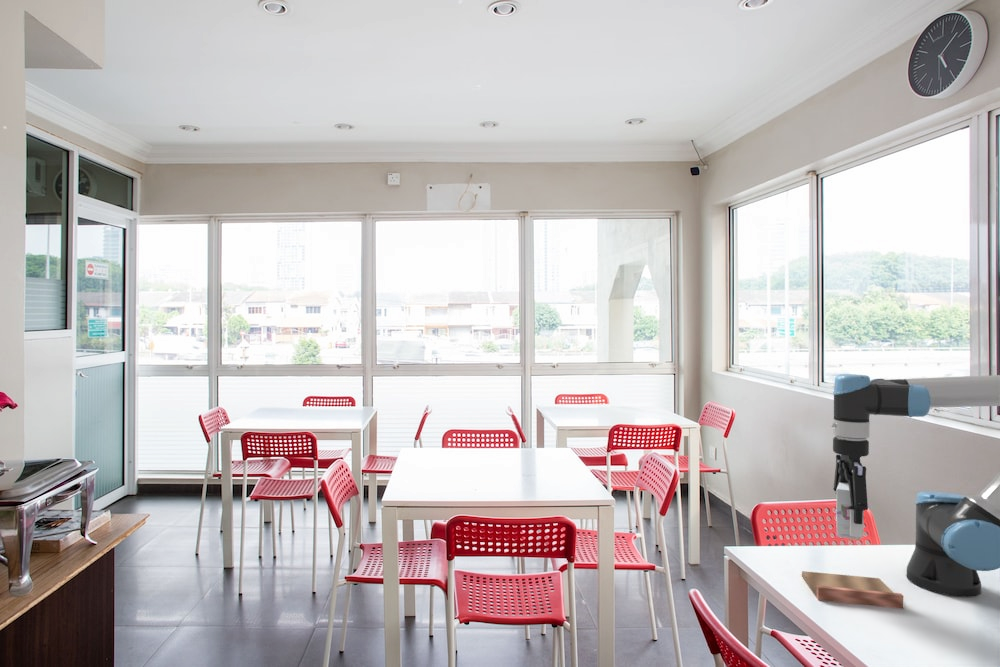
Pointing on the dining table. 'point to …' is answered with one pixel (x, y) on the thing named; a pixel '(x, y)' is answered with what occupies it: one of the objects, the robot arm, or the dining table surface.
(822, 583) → the shelf board
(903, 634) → the dining table surface
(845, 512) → the ink box
